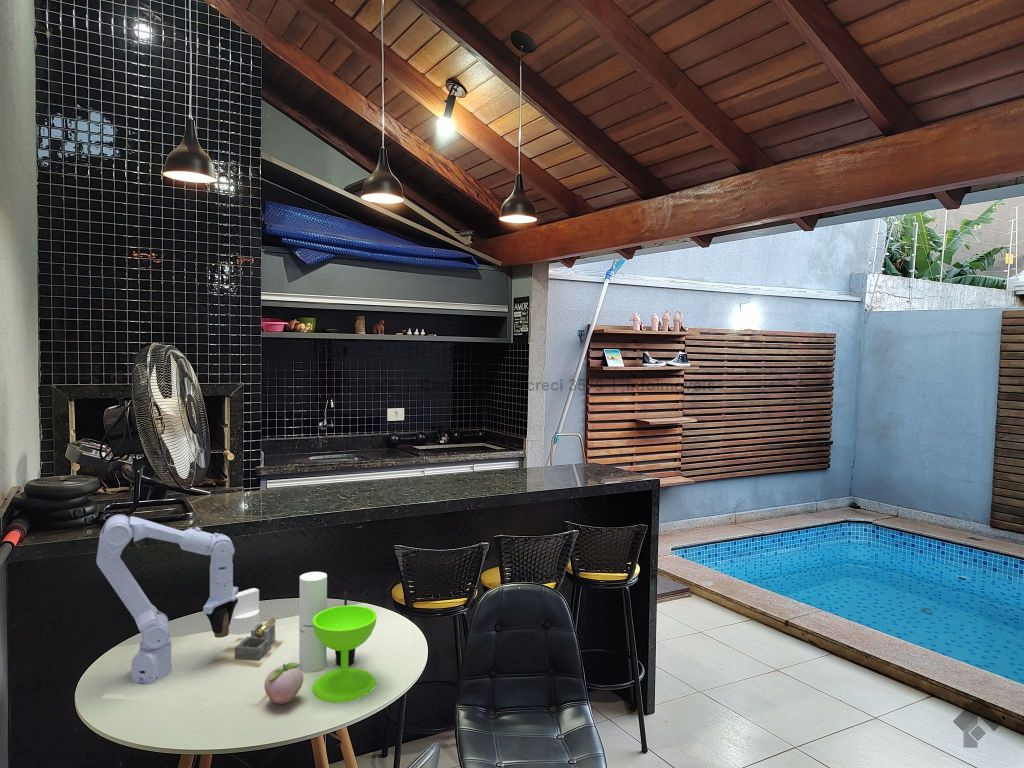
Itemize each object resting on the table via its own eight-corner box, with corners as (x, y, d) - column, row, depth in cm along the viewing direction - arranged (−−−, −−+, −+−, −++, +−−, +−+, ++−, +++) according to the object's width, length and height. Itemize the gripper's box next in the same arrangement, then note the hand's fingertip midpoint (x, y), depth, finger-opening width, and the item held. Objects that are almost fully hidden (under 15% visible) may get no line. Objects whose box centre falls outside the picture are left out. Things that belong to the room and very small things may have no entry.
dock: (258, 671, 176) (258, 648, 176) (208, 668, 177) (208, 645, 177) (284, 644, 192) (284, 623, 192) (238, 641, 193) (238, 621, 193)
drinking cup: (324, 664, 181) (325, 593, 180) (344, 653, 187) (344, 584, 186) (346, 671, 177) (346, 599, 176) (365, 660, 184) (365, 590, 183)
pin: (262, 637, 186) (262, 630, 186) (255, 636, 187) (255, 630, 187) (276, 624, 195) (276, 617, 195) (269, 624, 195) (269, 617, 195)
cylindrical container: (318, 673, 176) (319, 581, 174) (294, 670, 177) (294, 579, 176) (331, 661, 183) (331, 573, 181) (307, 658, 184) (307, 570, 183)
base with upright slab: (237, 640, 194) (237, 600, 193) (221, 632, 199) (221, 593, 199) (265, 630, 201) (265, 592, 201) (248, 622, 207) (249, 585, 206)
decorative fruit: (282, 690, 167) (282, 652, 166) (308, 697, 164) (309, 658, 163) (255, 709, 158) (255, 668, 158) (283, 716, 155) (283, 675, 155)
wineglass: (358, 664, 181) (359, 600, 180) (387, 688, 169) (387, 620, 168) (302, 682, 171) (302, 614, 170) (328, 709, 159) (328, 636, 158)
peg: (226, 637, 178) (226, 615, 178) (212, 637, 178) (212, 616, 177) (230, 631, 182) (230, 610, 181) (216, 632, 181) (216, 610, 181)
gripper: (221, 591, 171) (221, 642, 172) (248, 572, 186) (248, 619, 186) (195, 589, 172) (195, 640, 173) (224, 570, 186) (224, 617, 187)
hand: (221, 629), depth 180 cm, fingers closed on peg, 4 cm apart
